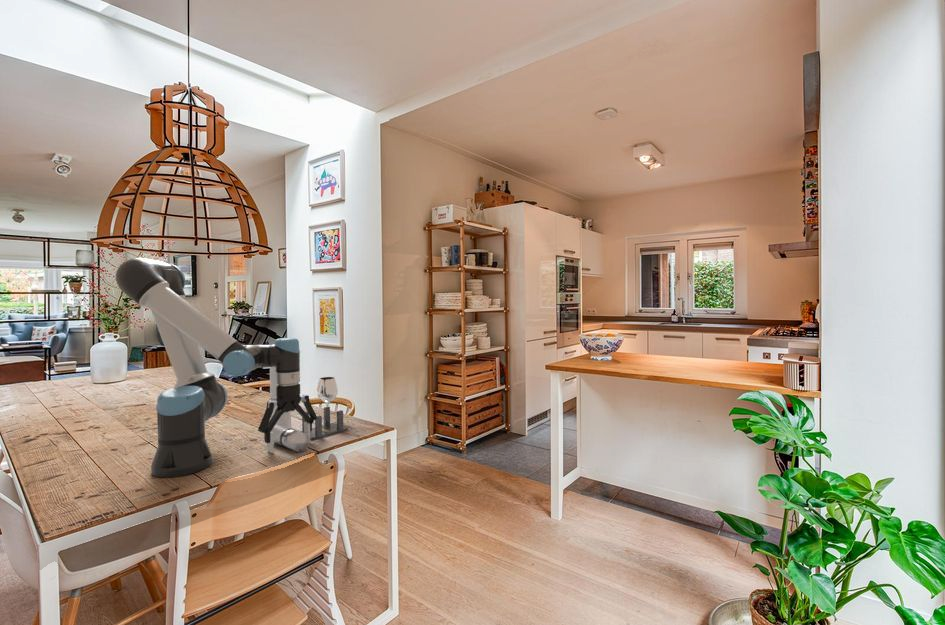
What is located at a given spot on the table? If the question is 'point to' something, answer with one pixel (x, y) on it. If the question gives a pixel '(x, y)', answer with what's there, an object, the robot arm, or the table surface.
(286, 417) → the cylindrical container
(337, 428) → the rail
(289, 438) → the tube
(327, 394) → the wineglass
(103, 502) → the table surface
